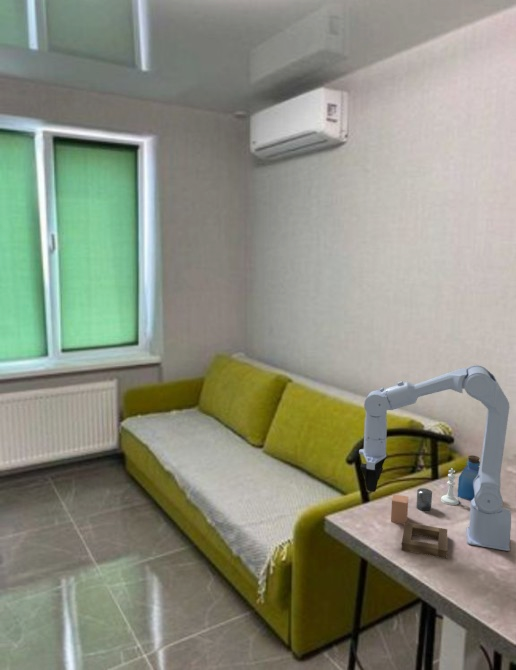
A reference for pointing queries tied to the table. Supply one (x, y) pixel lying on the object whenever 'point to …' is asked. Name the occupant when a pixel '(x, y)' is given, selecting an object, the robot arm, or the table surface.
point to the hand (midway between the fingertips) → (373, 484)
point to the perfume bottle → (468, 478)
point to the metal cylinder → (424, 499)
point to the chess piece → (450, 491)
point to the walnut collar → (424, 547)
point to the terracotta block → (399, 509)
